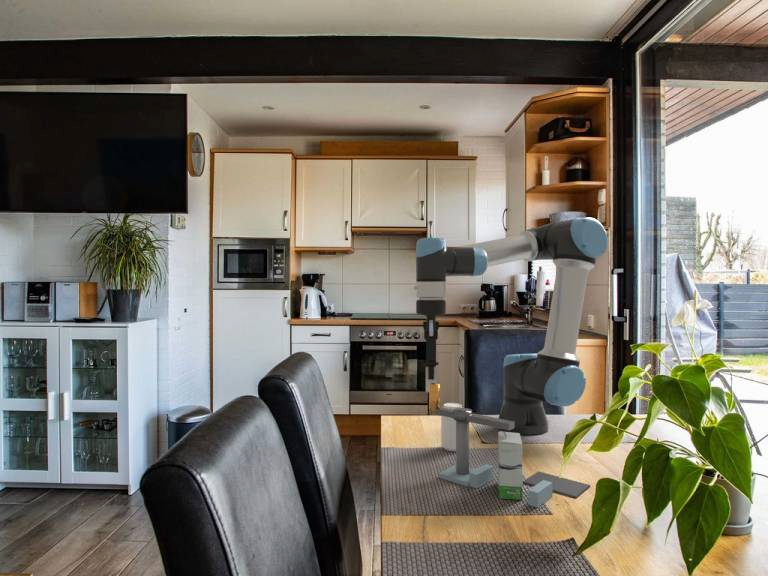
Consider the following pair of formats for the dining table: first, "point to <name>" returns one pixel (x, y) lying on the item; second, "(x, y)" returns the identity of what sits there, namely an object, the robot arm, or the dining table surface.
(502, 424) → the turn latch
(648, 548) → the dining table surface
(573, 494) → the pad
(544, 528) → the dining table surface
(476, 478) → the stand
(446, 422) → the beverage can
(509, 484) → the ink box
